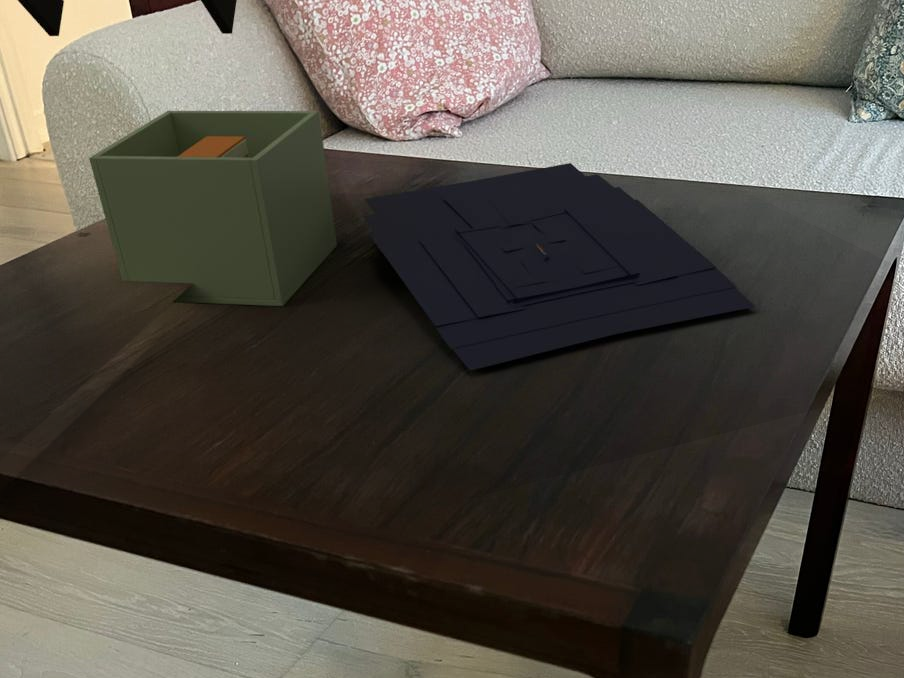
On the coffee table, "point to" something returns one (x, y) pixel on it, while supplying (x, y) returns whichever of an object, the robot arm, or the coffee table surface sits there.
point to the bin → (220, 205)
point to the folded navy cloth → (542, 263)
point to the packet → (218, 147)
